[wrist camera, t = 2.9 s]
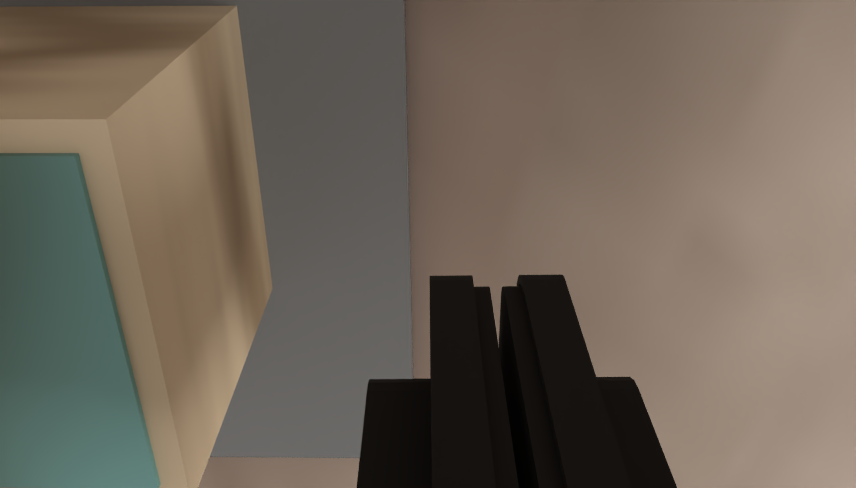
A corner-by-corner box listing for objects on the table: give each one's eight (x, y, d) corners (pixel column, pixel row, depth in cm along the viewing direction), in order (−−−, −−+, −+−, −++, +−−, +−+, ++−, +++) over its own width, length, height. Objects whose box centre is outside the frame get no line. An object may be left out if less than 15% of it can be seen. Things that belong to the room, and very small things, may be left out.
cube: (236, 5, 14) (102, 122, 8) (272, 288, 17) (190, 508, 11) (-92, 7, 14) (-432, 122, 8) (0, 287, 17) (-209, 504, 11)
